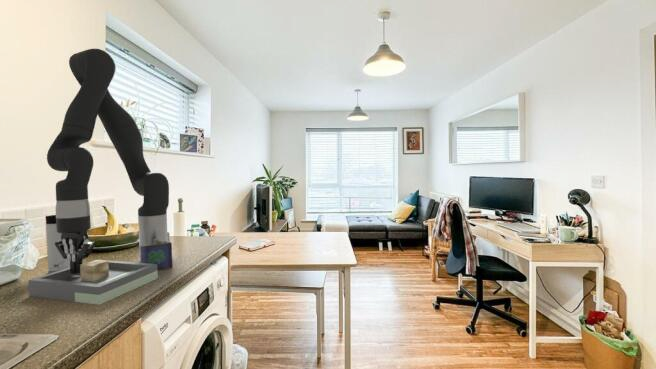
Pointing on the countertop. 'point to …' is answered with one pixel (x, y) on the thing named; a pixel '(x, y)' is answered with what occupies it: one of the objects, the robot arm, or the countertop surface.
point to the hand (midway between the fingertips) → (76, 272)
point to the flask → (157, 254)
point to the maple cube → (94, 270)
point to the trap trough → (93, 283)
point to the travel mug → (54, 247)
